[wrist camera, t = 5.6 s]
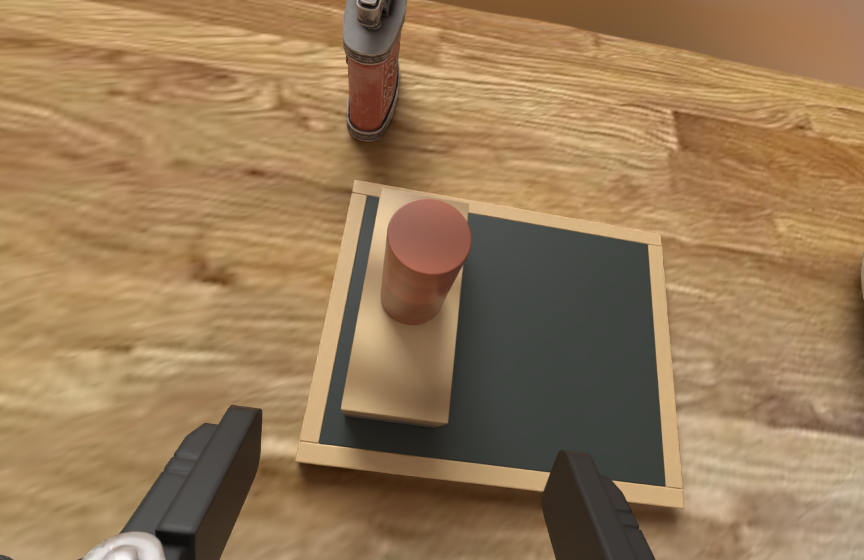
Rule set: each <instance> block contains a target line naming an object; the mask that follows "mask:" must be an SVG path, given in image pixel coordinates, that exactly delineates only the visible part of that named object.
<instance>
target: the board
mask: <svg viewBox="0 0 864 560" xmlns="http://www.w3.org/2000/svg"><path fill="white" fill-rule="evenodd" d="M382 188H384V189H390V190H396V191H401V192H407V193H413V194H418V195H424V196H430V197H435V198H441V199H447V200H452V201H458V202H464V203H469V210H468V221H467V223H468V225H469V227H470V231H471V236H472V244H471V249H470V252H469V254H468V256H467V258H466V260H465V262H464V264H463V273H462V283H461V293H460V304H459V314H458V325H457V335H456V345H455V356H454V366H453V376H452V387H451V397H450V408H449V418H448V423H447V424H445V425H442V426H439V427H437V428H433V427H425V426H418V425H410V424H402V423H395V422H387V421H379V420H372V419H364V418H356V417H349V416H344V414H343V413H342V410H341V405H342V399H343V394H344V388H345V383H346V378H347V372H348V367H349V361H350V356H351V350H352V345H353V340H354V334H355V329H356V323H357V318H358V312H359V307H360V302H361V296H362V291H363V285H364V280H365V274H366V269H367V264H368V258H369V253H370V247H371V242H372V236H373V231H374V226H375V220H376V215H377V209H378V204H379V198H380V193H381V189H382ZM661 246H662V245H661V234H658V233H653V232H647V231H641V230H636V229H630V228H624V227H619V226H613V225H608V224H602V223H596V222H591V221H585V220H579V219H574V218H568V217H563V216H557V215H551V214H546V213H540V212H534V211H529V210H523V209H517V208H512V207H506V206H501V205H495V204H489V203H484V202H478V201H472V200H467V199H461V198H455V197H450V196H444V195H439V194H433V193H427V192H422V191H416V190H410V189H405V188H399V187H393V186H388V185H382V184H377V183H371V182H365V181H360V180H355V181H354V185H353V190H352V195H351V199H350V204H349V209H348V213H347V218H346V223H345V227H344V232H343V237H342V242H341V246H340V251H339V256H338V260H337V265H336V270H335V275H334V279H333V284H332V289H331V293H330V298H329V303H328V308H327V312H326V317H325V322H324V326H323V331H322V336H321V341H320V345H319V350H318V355H317V359H316V364H315V369H314V373H313V378H312V383H311V388H310V392H309V397H308V402H307V406H306V411H305V416H304V421H303V425H302V430H301V435H300V439H299V440H300V442H299V444H298V449H297V454H296V458H295V462H298V463H307V464H315V465H323V466H332V467H340V468H348V469H356V470H365V471H373V472H381V473H390V474H398V475H406V476H414V477H423V478H431V479H439V480H448V481H456V482H464V483H472V484H481V485H489V486H497V487H506V488H514V489H522V490H530V491H539V492H543V491H544V488H545V485H546V483H547V480H548V477H549V475H550V472H551V470H552V467H553V464H554V462H555V459H556V456H557V454H558V452H559V451H560V450H568V451H576V452H583V453H589V454H590V455H591V456H592V458H593V460H594V462H595V465H596V467H597V469H598V471H599V473H600V475H605V476H608V477H609V478H610V479H611V480H612V481H613V482H614V483H615V485H616V486H617V487H618V488H619V489H620V490H621V491H622V492H623V494H624V496H625V498H626V500H627V502H630V503H638V504H646V505H655V506H663V507H671V508H680V509H684V500H683V490H682V489H683V485H682V473H681V462H680V450H679V439H678V427H677V416H676V404H675V393H674V381H673V370H672V358H671V347H670V335H669V324H668V312H667V301H666V289H665V278H664V266H663V255H662V247H661Z"/></svg>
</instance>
